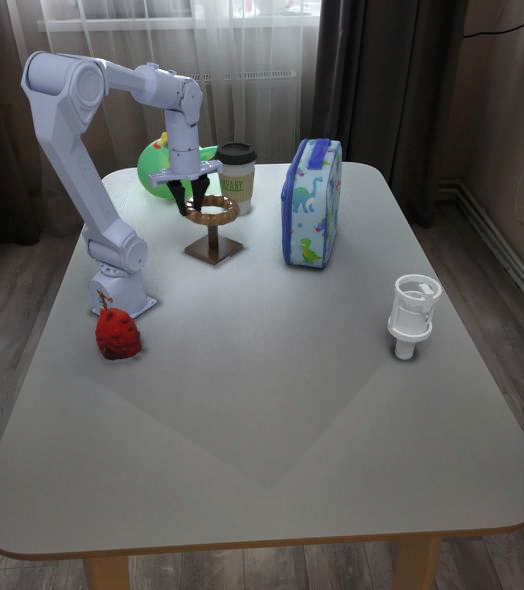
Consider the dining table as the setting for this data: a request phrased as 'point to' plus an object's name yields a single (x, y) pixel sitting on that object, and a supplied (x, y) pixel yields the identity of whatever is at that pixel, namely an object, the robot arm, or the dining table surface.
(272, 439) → the dining table surface
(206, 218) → the ring
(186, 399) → the dining table surface
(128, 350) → the red rounded lump
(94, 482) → the dining table surface
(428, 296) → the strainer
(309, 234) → the lunch box
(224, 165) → the coffee cup
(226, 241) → the post
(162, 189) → the toy bird
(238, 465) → the dining table surface
